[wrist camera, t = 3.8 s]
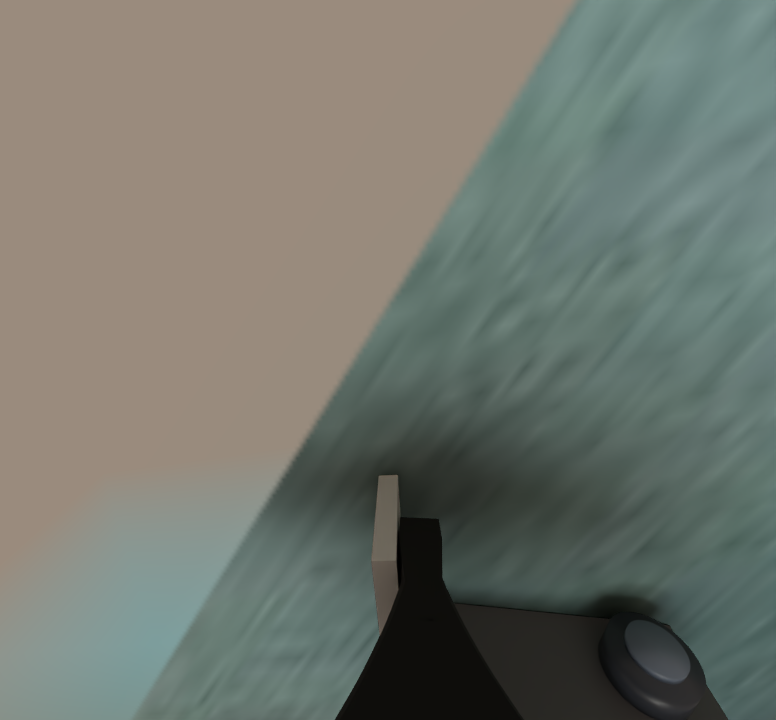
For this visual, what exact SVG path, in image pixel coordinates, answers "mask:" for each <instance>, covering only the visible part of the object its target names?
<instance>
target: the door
mask: <svg viewBox="0 0 776 720" xmlns="http://www.w3.org/2000/svg"><path fill="white" fill-rule="evenodd" d="M400 517H401V514H400V500H399V486H398V475H381V476H379V479H378V490H377V502H376V514H375V525H374V537H373V548H372V560H371V562H372V571H373V580H374V589H375V597H376V606H377V615H378V624H379V633H380V634H381V632H382V630H383V628H384V625H385V623H386V621H387V618H388V616H389V613H390V611H391V609H392V606H393V603H394V600H395V598H396V595H397V592H398V590H399V587H400V585H399V523H400Z"/></svg>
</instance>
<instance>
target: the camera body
mask: <svg viewBox="0 0 776 720" xmlns="http://www.w3.org/2000/svg"><path fill="white" fill-rule="evenodd" d="M454 605H455V607H456V609H457V611H458V613H459V615H460V617H461V619H462V621H463V623H464V625H465V627H466V628H467V630H468V632H469V634H470V636H471V638H472V639H473V641H474V643H475V645H476V646H477V648H478V650H479V652H480V653H481V655H482V657H483V658H484V660H485V662H486V663H487V665H488V666H489V668H490V670H491V671H492V673H493V675H494V676H495V678H496V679H497V681H498V682H499V684H500V685H501V687H502V688H503V690H504V691H505V693H506V694H507V695H508V697H509V698H510V700H511V701H512V703H513V704H514V706H515V707H516V709H517V710H518V712H519V713H520V715H521V716H522V718H523V719H524V720H728V718H727V717H726V715H725V714H724V712H723V710H722V709H721V707H720V706H719V704H718V702H717V701H716V699H715V698H714V696H713V694H712V693H711V691H710V690H709V688H708V687H707V685H706V680H705V675H704V672H703V669H702V667H701V665H700V663H699V661H698V660H697V658H696V656H695V655H694V654H693V652H692V651H691V650H690V648H689V647H688V646H687V645H686V644H685V643H684V642H683V640H681V639H680V638H679V637H678V636H677V635H676V634H675V633H674V632H673V631H672V629H671V627H670V626H669V625H663V624H661V623H660V622H658V621H656V620H654V619H652V618H650V617H648V616H645V615H642V614H639V613H634V612H621V613H618V614H616V615H614V616H613V617H612V618H611V619H603V618H593V617H584V616H574V615H564V614H554V613H544V612H534V611H525V610H515V609H505V608H495V607H485V606H475V605H465V604H456V603H454Z"/></svg>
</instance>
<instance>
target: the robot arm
mask: <svg viewBox="0 0 776 720" xmlns="http://www.w3.org/2000/svg"><path fill="white" fill-rule="evenodd" d="M399 585H400V587H399V590H398V592H397V595H396V598H395V600H394V603H393V606H392V609H391V611H390V613H389V616H388V618H387V621H386V623H385V625H384V628H383V630H382V632H381V634H380V637H379V639H378V641H377V643H376V645H375V647H374V649H373V651H372V653H371V655H370V657H369V659H368V661H367V663H366V665H365V667H364V669H363V671H362V673H361V675H360V677H359V679H358V681H357V682H356V684H355V686H354V688H353V690H352V691H351V693H350V695H349V696H348V698H347V700H346V702H345V703H344V705H343V707H342V708H341V710H340V712H339V714H338V715H337V717H336V719H335V720H524V719H523V718H522V716H521V715H520V713H519V712H518V710H517V709H516V707H515V706H514V704H513V703H512V701H511V700H510V698H509V697H508V695H507V694H506V693H505V691H504V690H503V688H502V687H501V685H500V684H499V682H498V681H497V679H496V678H495V676H494V675H493V673H492V671H491V670H490V668H489V666H488V665H487V663H486V662H485V660H484V658H483V657H482V655H481V653H480V652H479V650H478V648H477V646H476V645H475V643H474V641H473V639H472V638H471V636H470V634H469V632H468V630H467V628H466V627H465V625H464V623H463V621H462V619H461V617H460V615H459V613H458V611H457V609H456V607H455V605H454V603H453V601H452V599H451V597H450V594H449V592H448V590H447V588H446V586H445V583H444V581H443V578H442V536H441V530H440V525H439V519H430V518H407V517H400V523H399Z"/></svg>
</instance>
